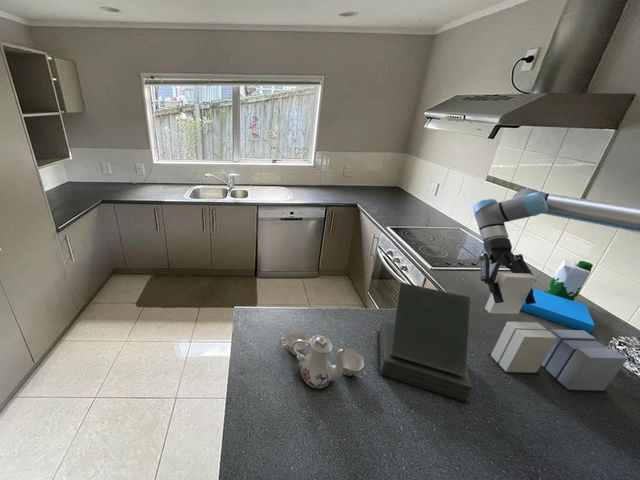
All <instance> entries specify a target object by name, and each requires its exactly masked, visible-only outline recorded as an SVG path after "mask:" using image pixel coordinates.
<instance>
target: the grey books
mask: <svg viewBox="0 0 640 480" xmlns="http://www.w3.org/2000/svg"><path fill="white" fill-rule="evenodd" d="M549 332H551V333H552V334H553V335H554V336H556V337H557V339H556V341H555V342H554V344H553V346H552V347H551V349H550V351H549V352H548V354H547V356H546V357H545V359H544V361H543V363H542V364H541V366H542V367H543V368H545V370H546V371H547V372H548V373H549V374H550V375H551V376H553V377H554V378H555V379H556V380H557V381H558V382H559V383H560V384H561V385H562V386H563V387H565V388H566V389H567V390H569V391H597V392H598V391H599V392H600V391H603V392H604V391H605V390H606V389H607V387H608V386H609V385H610V383H611V382H612V380H613V379H614V378H615V376H616V375H618V373H619V372H620V370H621V369H622V367H623V366H624V365H625V363H626V362H627V360H628V359H629V358H628V357H627V356H626V355H624V354H622V353H621V352H619V351H618V350H616V349H615V348H608V347H606V346H605V345H604V344H602V343H601V342H599V341H597V340H596V339H597V338H596V337H595V336H594V335H592V334H591V333H590V334H589V333H587V332H586V331H584V330H578V329H552V328H551V329H550V330H549Z"/></svg>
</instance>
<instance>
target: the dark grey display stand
mask: <svg viewBox="0 0 640 480" xmlns="http://www.w3.org/2000/svg"><path fill="white" fill-rule="evenodd" d="M470 307H471V296H466V295H462V294H456V293H452V292H448V291H442V290H438V289H435V288H434V289H433V288H430V287H424V286H420V285H415V284H411V283H406V282H402V281H401V282H399V283H398V290H397V299H396V306H395V312H394V313H395V314H394V320H393V321H390V320H386V319H382V323H381V327H380V328H379V329H380V331H379V332H378V333H379V335H378V336H379V361H380V362H379V370H380V372H379V374H380V375H381V376H385V377H388V378H391V379H394V380H397V381H400V382H403V383H406V384H409V385H412V386H415V387H419V388H421V389H425V390H428V391H430V392H434V393H437V394H439V395H440V394H441V395H443V396H446V397H450V398H452V399H456V400H459V401H462V402H467V400H468V398H469V396H470V394H471V391H472V389H473V384H472V381H471V379H470V375H469V373H468V370H467V356H468V355H467V354H468V341H469V340H468V339H469V324H470V310H471V309H470Z"/></svg>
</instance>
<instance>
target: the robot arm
mask: <svg viewBox="0 0 640 480" xmlns="http://www.w3.org/2000/svg"><path fill="white" fill-rule="evenodd" d="M472 208H473V213H474V218H475V220H476V225H477V227H478V230H479V234H480V237H481V238H480V239H481V241H482V242H483V243H482V245H483V248H484V251H485V252H484V253H480V254H479V255H478V257H479V260H480V274H479V275H480V277H479V279H480V281H481V282H483V283H484V284H485V285H486V284H487V286H488V289H489V292H490V294H491V293H492V294H493V298H494V301H495V303H502V302H504V301H503V297H502V294H501V291H500V287H499V284H498V282H497V278H498V277H497V276H498V273H499V269H500V267H501V266H502V267H505V268H506V269H509V271H511V272H510V273H523V274H531V275H533V276H534V274H533V272H532V270H530V268H529V266H528V264H527V263H526V262H525V259H524V256H523V254H521V253H518V254H514V253H513V252H512V249H513V245H512V243H511V240H510V238H509V233H508V231H507V228H506V225H505V223H507V222H508V223H509V222H512V221H516V220H521V219H526V218H530V217H537V216H539V215H548V216H553V217H558V218H564V219H568V220H574V221H579V222H582V223H583V222H585V223H590V224H594V225H599V226H603V227H604V226H605V227H608V228H609V227H610V228H615V229H620V230H625V231H631V232H635V233H640V207H638V206H631V205H626V204H619V203H613V202H606V201H600V200H593V199H587V198H580V197H574V196H568V195H559V194H554V193H547V192H542V191H537V190H535V189H534V188H533V189H532V188H524V189H523V188H522V189H521V190H519V191H517V192H516V193H514V195H513V196H512V198H510V199H507V200H504V201H500V202H498V201H497V200H496V199H495V198H487V199H482V200H479V201H477V202H475V203H474V204H473V205H472ZM535 282H537V279H536V280H535ZM535 282H534V283H535ZM533 289H534V288H533V287H532V288H531V290H530V292H529V294H528V296H527V298H526V300H525V302H526V304H534V303H536V302H535V299H534V296H533Z"/></svg>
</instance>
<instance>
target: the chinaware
mask: <svg viewBox="0 0 640 480" xmlns="http://www.w3.org/2000/svg"><path fill="white" fill-rule="evenodd" d="M282 340H283V341H284V343H282ZM279 344H280V345H281V346H286V349H288V351H289V352H290V353H291V354H292V355H293V356H296V359H297V361H299V363H298V367H299V370H300V376H301V378H302V380H303V381H304V383H305V384H306V385H307V386H309V387H310V388H311V389H316V390H322V389H324V388H327V387H328V386H329V385H330V383H331V381H336V380H338V379H340V378H341V377H342V375H345V376H349V377H351V376H354V377H359V378H360V379H362V380H365V379H366V378H367V373H366V371H365V370H364V369H365V358H364V356H363V355H362V354H360V353H358V352H357V351H356V350H355V349H353V348H350V347H347V348H341V349H338V350H337V351H336V354H335V355H336V356H335V364H332V362H331V360H330V352H331V351H332V349H333V343H332V341H331V340H330V339H329V338H328V337H326V336H325V335H319V334H318V335H314V336H312V337H311V338H310V339H309V338H308V335H307V334H306V332H304V331H300V330H299V331H298V330H296V329H290V330H289V331H288V332H287V333H284V335H283V337H280V339H279ZM308 347H309V348H310V349H309V352H308V353H307V354H306V355H304V354H302V353H303V352H304V351H305V350H306V349H307V348H308ZM359 372H361V373H363V375H364V377H362V376H361V375H360V374H359Z"/></svg>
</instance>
